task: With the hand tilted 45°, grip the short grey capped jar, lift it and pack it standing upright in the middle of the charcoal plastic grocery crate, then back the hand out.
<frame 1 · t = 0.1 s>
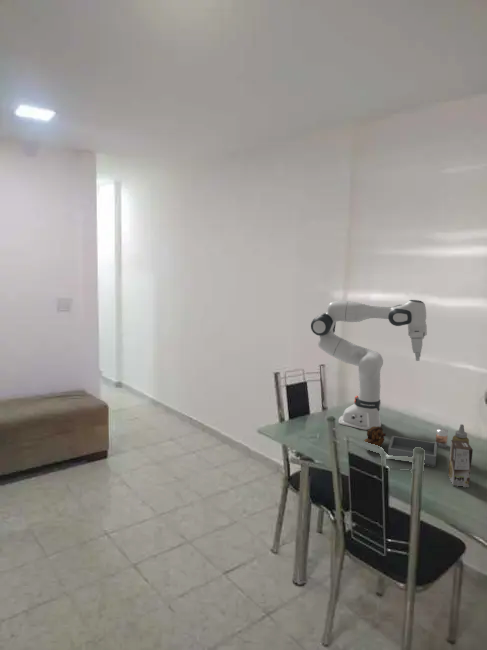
hand: (418, 358, 239), 39 cm above the table, tool pointing down, fingers open, 8 cm apart
wooden carving: (374, 448, 224), on the table
coffee box: (458, 482, 192), on the table
grocery crate: (412, 455, 216), on the table
squeeze bottle: (458, 463, 209), on the table
grey capped jar: (440, 445, 227), on the table
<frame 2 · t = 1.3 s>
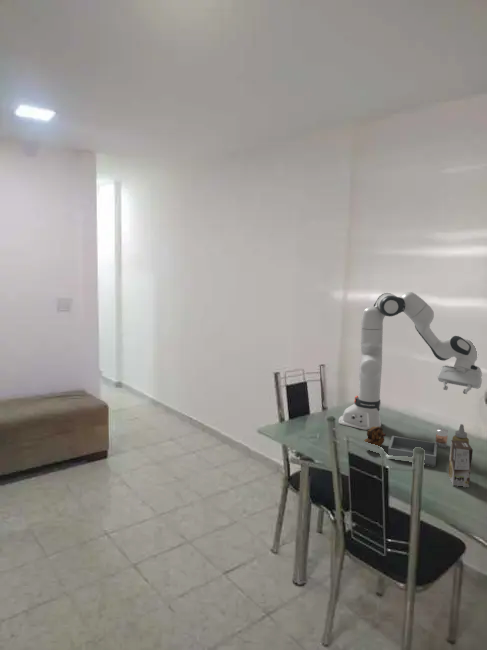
hand: (454, 391, 232), 25 cm above the table, tool tilted 45°, fingers open, 8 cm apart
nothing on the table moved.
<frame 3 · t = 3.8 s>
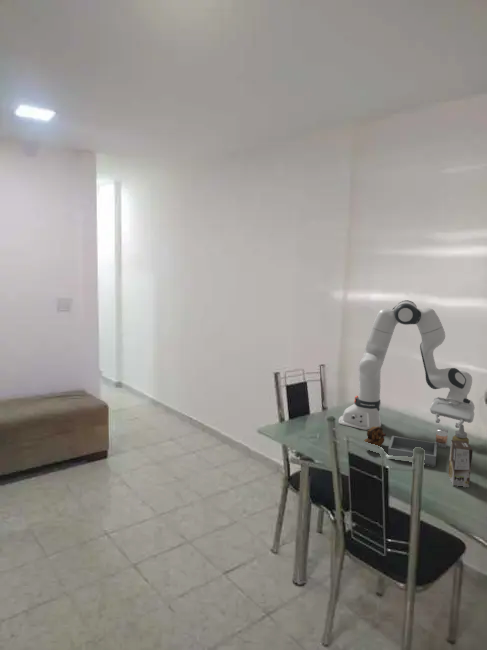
hand: (446, 424, 230), 9 cm above the table, tool tilted 45°, fingers open, 8 cm apart
nothing on the table moved.
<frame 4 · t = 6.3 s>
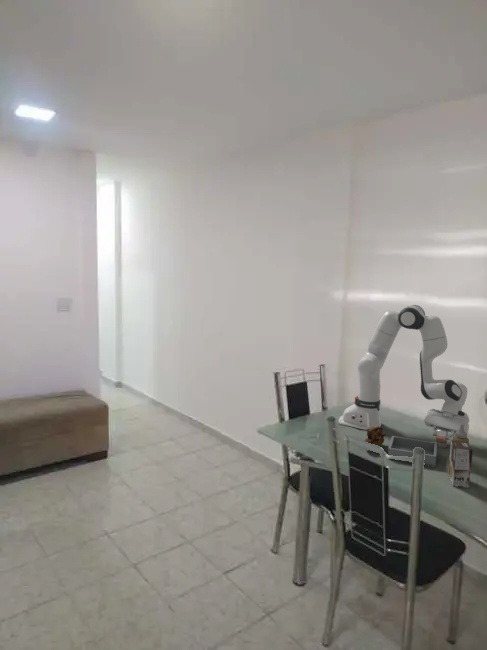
hand: (441, 437, 226), 4 cm above the table, tool tilted 45°, fingers closed on grey capped jar, 5 cm apart
grey capped jar: (440, 445, 227), on the table, touching gripper
everything else where it was.
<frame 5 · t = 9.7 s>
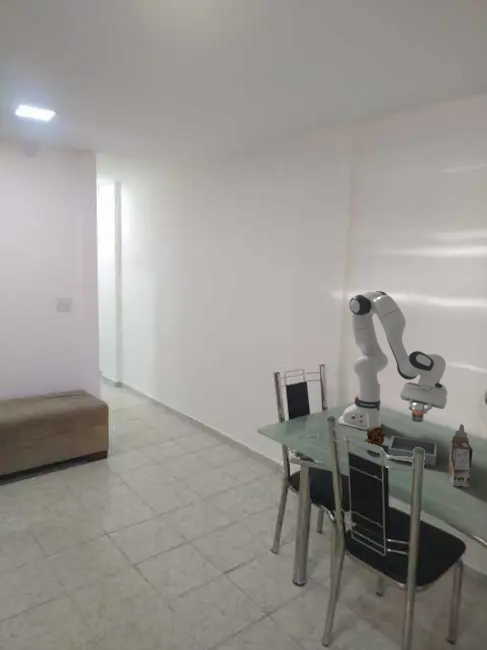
hand: (417, 411, 213), 21 cm above the table, tool tilted 45°, fingers closed on grey capped jar, 5 cm apart
grey capped jar: (417, 420, 214), point 17 cm above the table, touching gripper
everything else where it was.
when the fingers open (7 cm above the table, at t = 13.5 s): grey capped jar drops 1 cm, resting on grocery crate.
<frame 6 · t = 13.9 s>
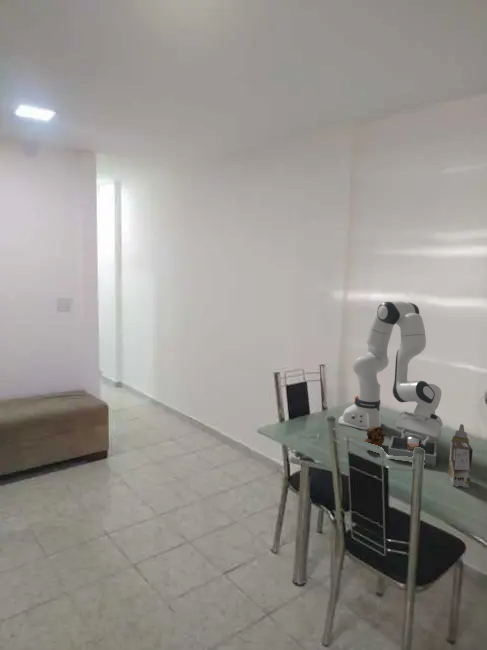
hand: (412, 442, 214), 7 cm above the table, tool tilted 45°, fingers open, 8 cm apart
grey capped jar: (412, 453, 216), point 1 cm above the table, touching grocery crate
everything else where it was.
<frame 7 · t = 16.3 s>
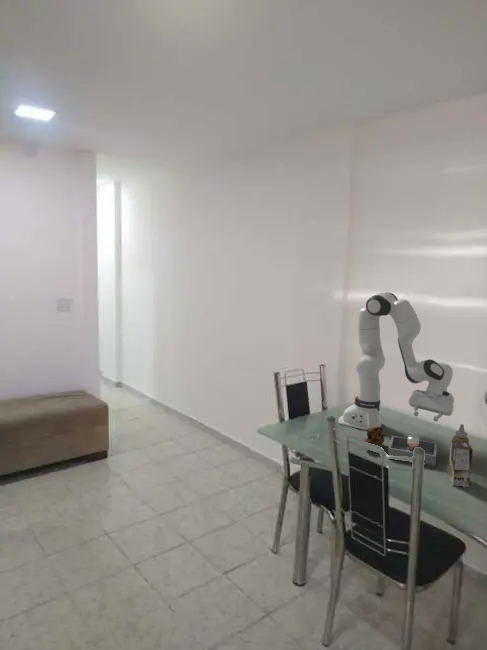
hand: (425, 417, 223), 15 cm above the table, tool tilted 45°, fingers open, 8 cm apart
nothing on the table moved.
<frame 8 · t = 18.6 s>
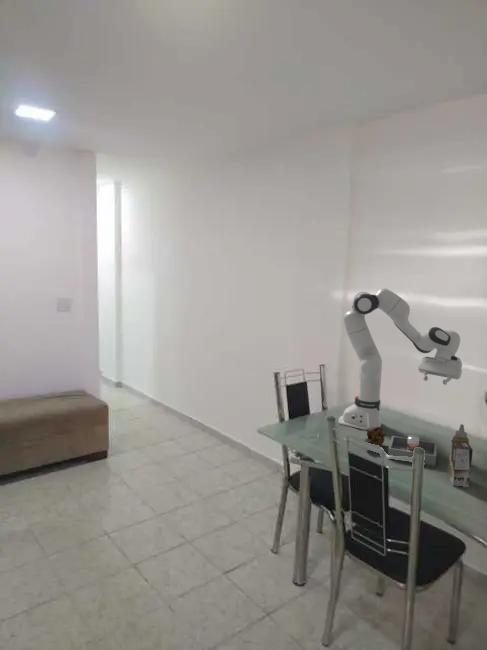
hand: (434, 381, 231), 29 cm above the table, tool tilted 45°, fingers open, 8 cm apart
nothing on the table moved.
at the end: grey capped jar inside the target area on the grocery crate (0.1 cm from its centre), point 1.0 cm above the grocery crate's base; grey capped jar tilted 0°; the gripper is holding nothing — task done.
